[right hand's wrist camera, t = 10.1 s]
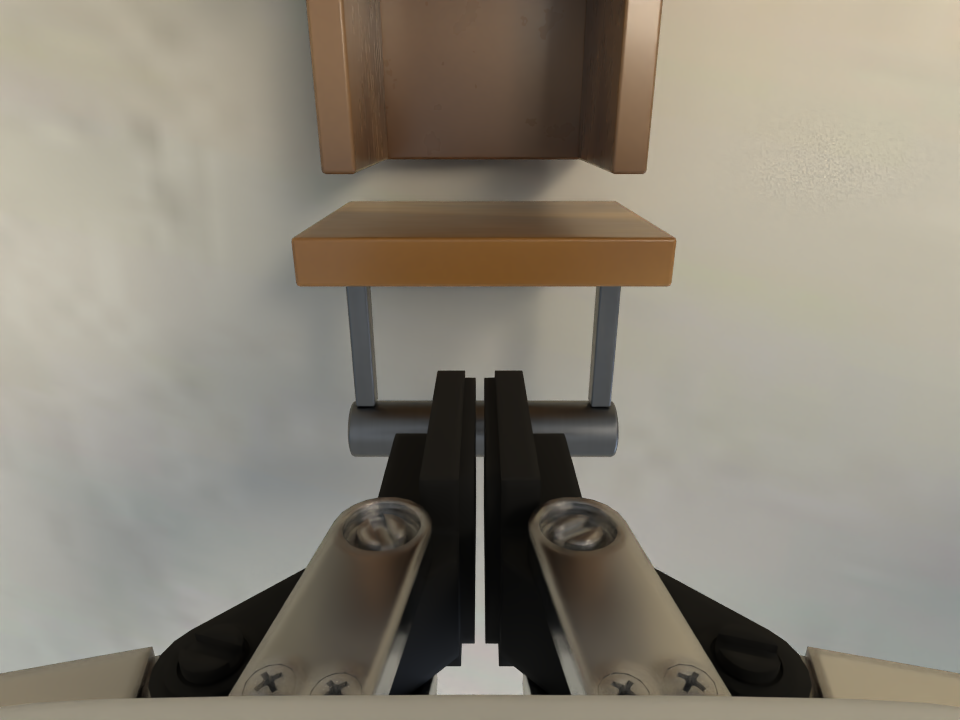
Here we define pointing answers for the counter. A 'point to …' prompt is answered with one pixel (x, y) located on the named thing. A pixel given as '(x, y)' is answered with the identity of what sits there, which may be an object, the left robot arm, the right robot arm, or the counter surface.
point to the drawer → (484, 135)
